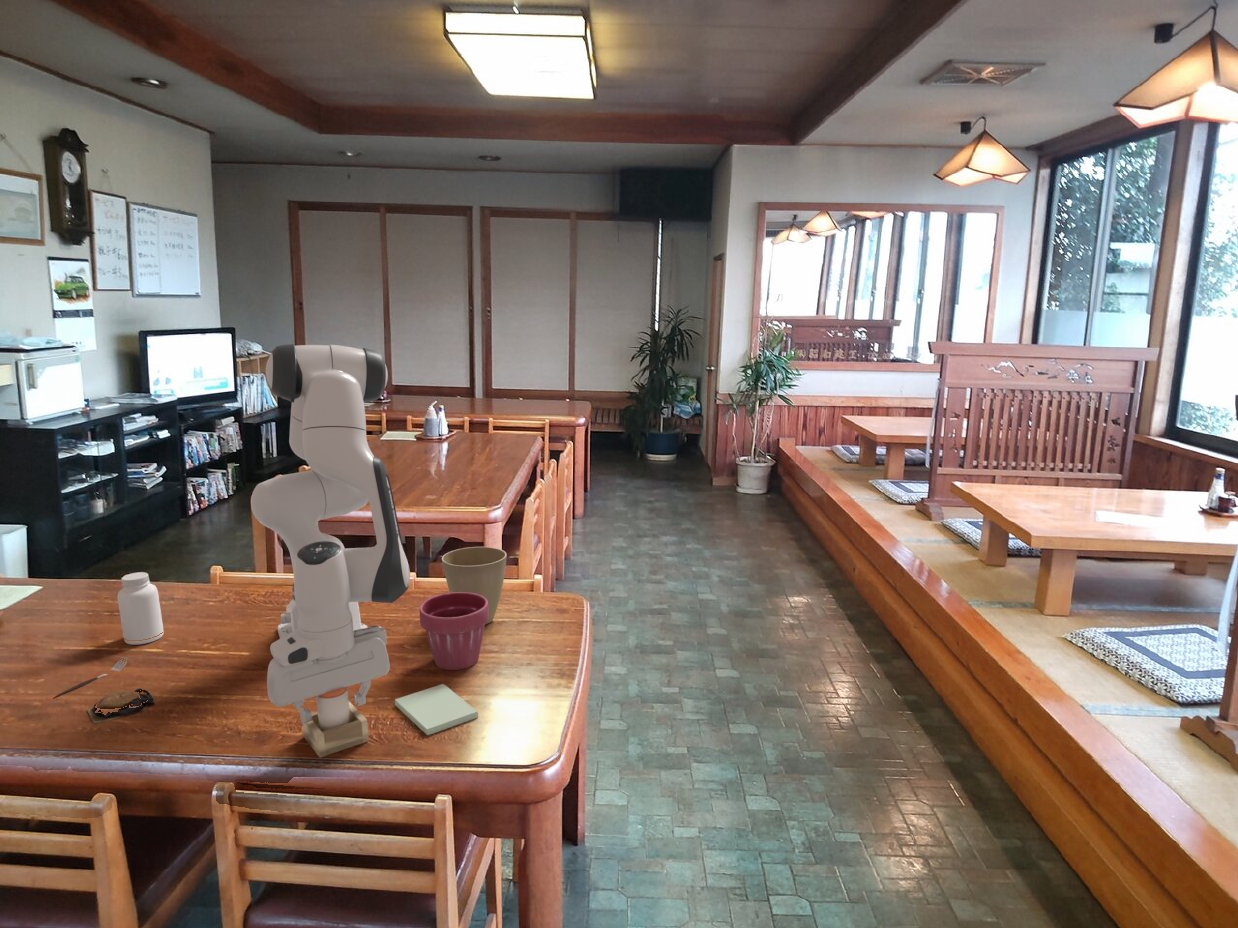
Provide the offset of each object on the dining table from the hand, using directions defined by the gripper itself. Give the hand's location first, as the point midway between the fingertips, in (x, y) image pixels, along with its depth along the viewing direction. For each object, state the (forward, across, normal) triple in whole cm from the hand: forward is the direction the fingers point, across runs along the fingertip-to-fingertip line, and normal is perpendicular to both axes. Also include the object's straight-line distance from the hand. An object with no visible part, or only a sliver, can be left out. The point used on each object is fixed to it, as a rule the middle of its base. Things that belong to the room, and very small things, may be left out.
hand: (333, 712), depth 146 cm
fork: (+6, +31, -54) cm, 63 cm away
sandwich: (+6, +28, -37) cm, 47 cm away
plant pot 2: (+5, -31, -15) cm, 35 cm away
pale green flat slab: (+5, -18, +2) cm, 19 cm away
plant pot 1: (+5, -45, -32) cm, 55 cm away
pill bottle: (+5, +19, -71) cm, 74 cm away
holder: (+5, 0, 0) cm, 5 cm away
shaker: (+4, 0, 0) cm, 4 cm away
